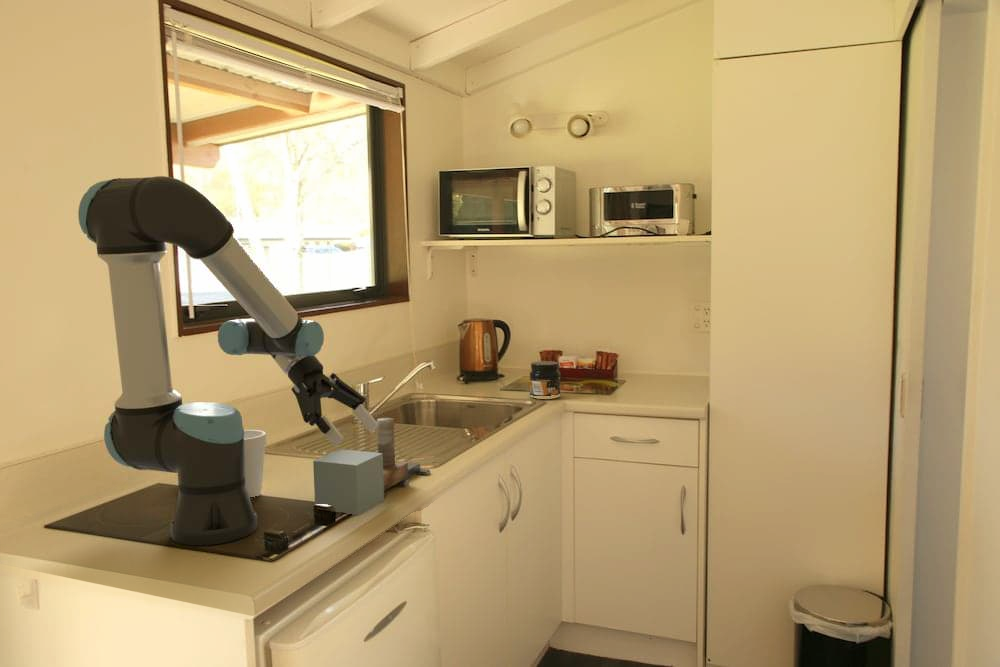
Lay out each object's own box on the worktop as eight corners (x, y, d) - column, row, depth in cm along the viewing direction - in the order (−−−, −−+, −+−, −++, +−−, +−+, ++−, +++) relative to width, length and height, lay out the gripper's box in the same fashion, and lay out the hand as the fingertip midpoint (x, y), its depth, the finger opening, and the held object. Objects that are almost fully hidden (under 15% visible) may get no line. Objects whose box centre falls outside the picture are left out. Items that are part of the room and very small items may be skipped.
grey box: (344, 495, 171) (342, 448, 170) (385, 500, 167) (383, 452, 166) (315, 509, 162) (313, 460, 161) (357, 515, 158) (356, 465, 157)
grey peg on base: (379, 494, 168) (377, 429, 166) (350, 491, 170) (348, 427, 169) (408, 479, 179) (406, 417, 177) (380, 476, 181) (378, 415, 180)
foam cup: (245, 486, 179) (243, 428, 177) (277, 491, 174) (275, 432, 173) (212, 498, 170) (209, 437, 169) (244, 504, 166) (242, 441, 165)
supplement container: (533, 401, 272) (533, 365, 270) (526, 395, 282) (526, 361, 281) (564, 399, 274) (563, 364, 272) (556, 394, 284) (555, 360, 283)
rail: (380, 500, 167) (380, 490, 167) (347, 495, 170) (347, 486, 170) (429, 472, 187) (429, 464, 187) (399, 469, 190) (399, 461, 190)
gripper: (272, 360, 171) (333, 436, 166) (342, 347, 193) (397, 414, 189) (253, 384, 174) (312, 459, 169) (324, 368, 196) (379, 434, 191)
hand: (357, 435), depth 179 cm, fingers open, 13 cm apart
